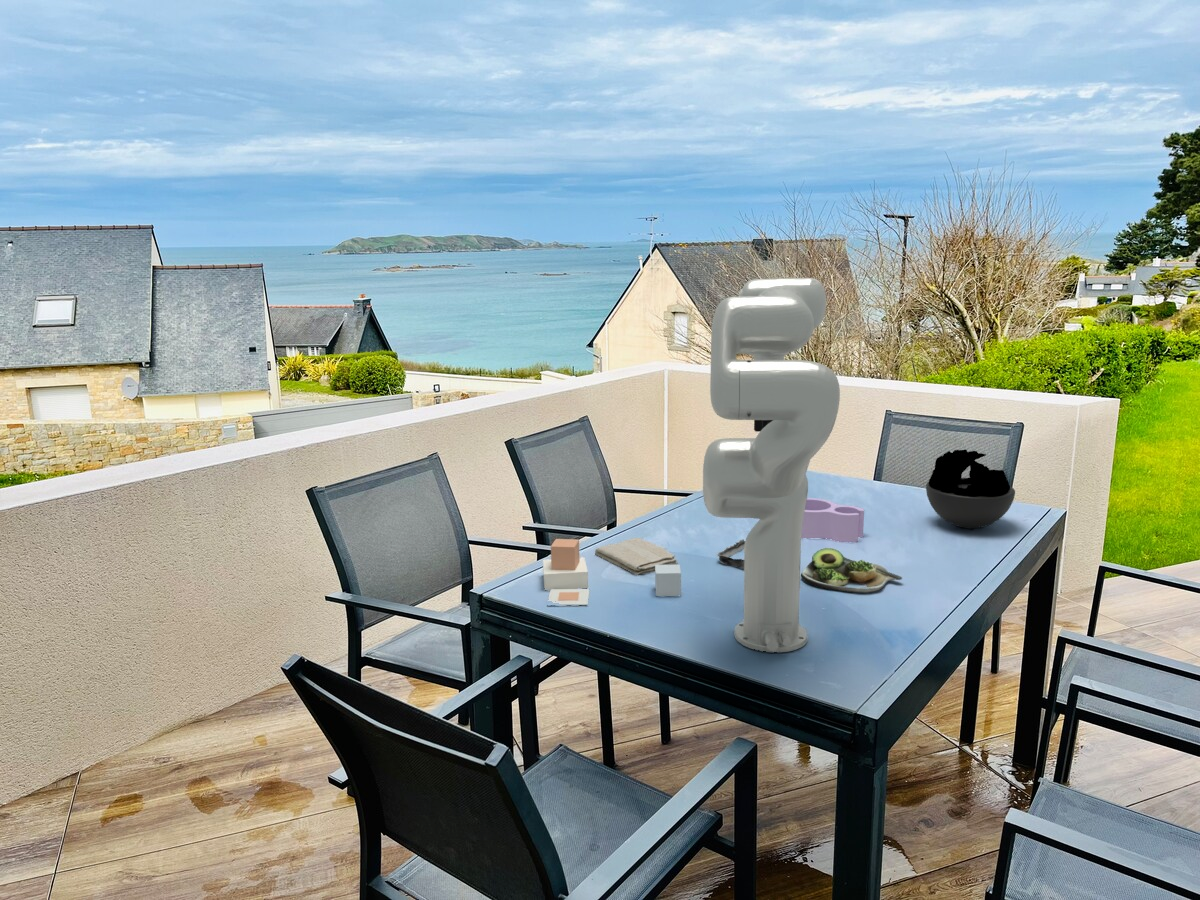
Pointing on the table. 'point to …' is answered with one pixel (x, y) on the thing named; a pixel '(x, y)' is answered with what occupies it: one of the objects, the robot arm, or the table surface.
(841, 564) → the salad plate
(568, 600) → the card
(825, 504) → the pink desk organizer
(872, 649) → the table surface
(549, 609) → the table surface
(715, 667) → the table surface
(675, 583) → the grey blue block
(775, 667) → the table surface
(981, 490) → the coal bowl
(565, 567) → the terracotta block
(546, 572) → the base block
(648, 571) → the washcloth
